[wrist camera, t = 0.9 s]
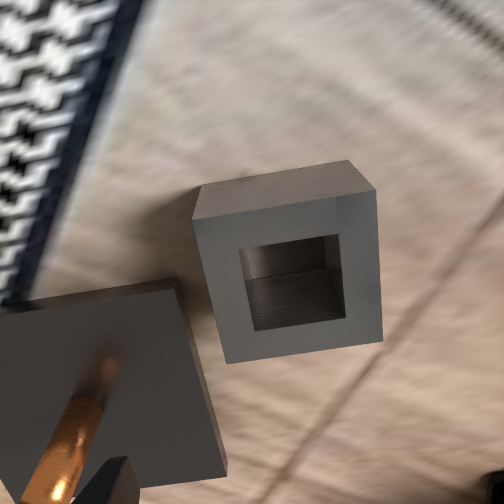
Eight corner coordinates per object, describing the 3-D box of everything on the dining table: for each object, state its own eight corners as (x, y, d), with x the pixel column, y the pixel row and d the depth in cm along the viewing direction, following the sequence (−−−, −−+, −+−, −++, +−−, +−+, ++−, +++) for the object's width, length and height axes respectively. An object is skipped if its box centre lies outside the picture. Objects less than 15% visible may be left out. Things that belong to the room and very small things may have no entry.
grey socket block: (227, 461, 25) (223, 578, 19) (24, 488, 25) (-36, 609, 20) (177, 277, 20) (152, 365, 14) (-76, 317, 20) (-193, 417, 15)
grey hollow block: (357, 288, 20) (383, 341, 16) (229, 307, 20) (226, 364, 17) (348, 160, 17) (376, 189, 14) (201, 184, 18) (191, 220, 14)
